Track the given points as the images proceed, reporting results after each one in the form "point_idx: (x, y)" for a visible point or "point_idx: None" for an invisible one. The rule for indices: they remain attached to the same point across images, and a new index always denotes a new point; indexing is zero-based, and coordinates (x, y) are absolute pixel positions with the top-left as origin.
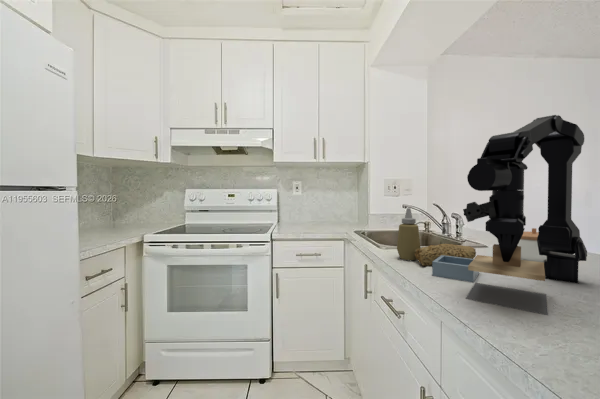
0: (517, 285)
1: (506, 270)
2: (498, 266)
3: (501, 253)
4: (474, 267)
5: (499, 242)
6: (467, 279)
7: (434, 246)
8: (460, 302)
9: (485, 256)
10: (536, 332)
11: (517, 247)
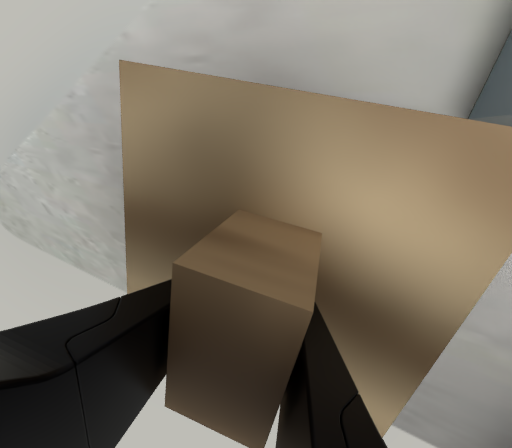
0: (497, 297)
1: (130, 241)
2: (186, 226)
3: (169, 280)
4: (123, 99)
5: (60, 322)
6: (496, 85)
7: None
8: (198, 69)
9: (505, 205)
10: (114, 224)
11: (203, 411)
